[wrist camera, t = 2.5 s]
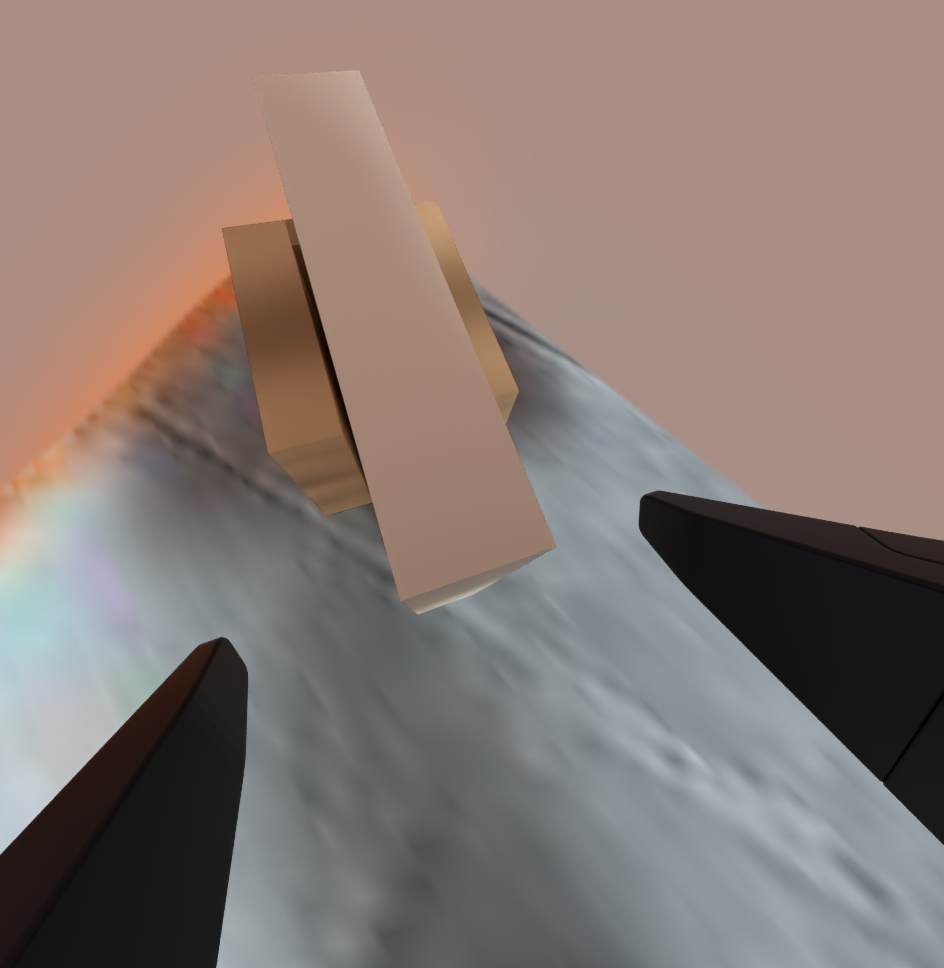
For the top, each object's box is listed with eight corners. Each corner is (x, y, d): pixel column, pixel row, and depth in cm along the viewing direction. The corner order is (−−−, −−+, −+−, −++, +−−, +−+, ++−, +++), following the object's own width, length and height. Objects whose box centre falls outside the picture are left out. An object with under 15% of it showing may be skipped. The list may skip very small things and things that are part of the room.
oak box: (487, 468, 18) (519, 390, 12) (327, 515, 16) (268, 453, 10) (433, 326, 20) (435, 200, 14) (287, 355, 19) (221, 228, 13)
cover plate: (473, 594, 16) (556, 546, 6) (418, 614, 16) (400, 601, 5) (394, 361, 19) (358, 69, 9) (347, 372, 19) (252, 75, 9)
